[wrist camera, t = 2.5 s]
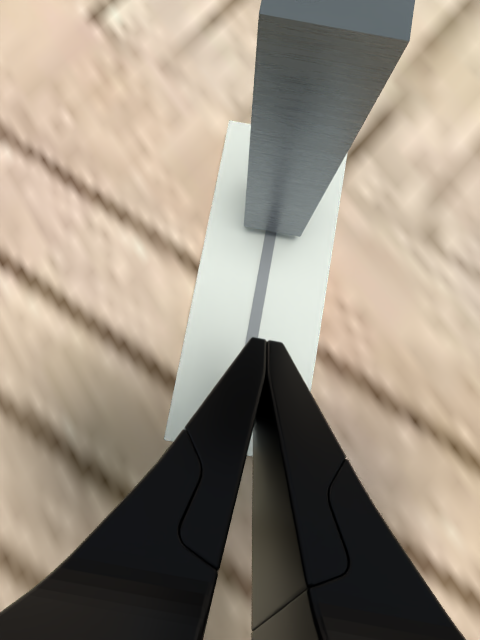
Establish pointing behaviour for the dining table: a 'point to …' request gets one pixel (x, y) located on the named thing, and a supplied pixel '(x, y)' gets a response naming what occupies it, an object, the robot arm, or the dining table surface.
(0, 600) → the dining table surface
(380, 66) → the gray metal block
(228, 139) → the bolt plate
